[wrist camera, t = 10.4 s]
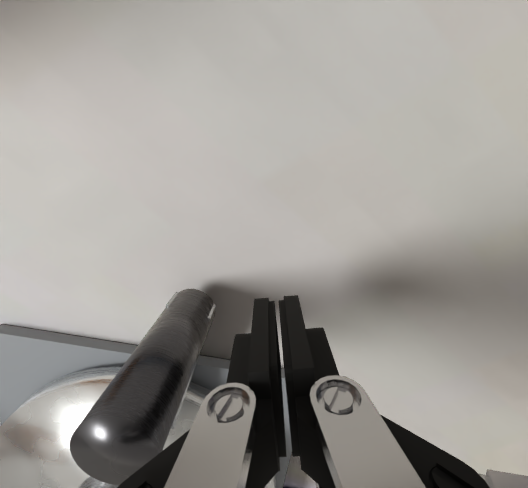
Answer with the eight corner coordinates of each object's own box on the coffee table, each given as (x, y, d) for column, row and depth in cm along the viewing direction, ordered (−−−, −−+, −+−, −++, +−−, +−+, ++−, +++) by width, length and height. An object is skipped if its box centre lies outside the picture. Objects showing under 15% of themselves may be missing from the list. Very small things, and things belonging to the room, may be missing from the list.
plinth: (307, 372, 17) (309, 381, 17) (259, 565, 23) (259, 579, 22) (1, 324, 17) (-12, 331, 16) (25, 530, 22) (16, 543, 22)
